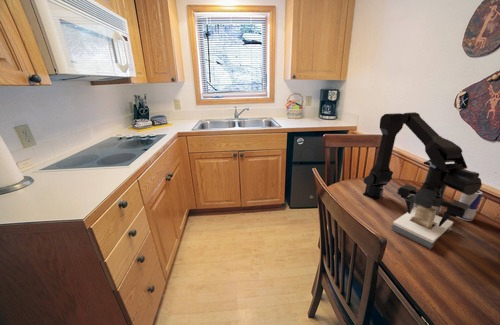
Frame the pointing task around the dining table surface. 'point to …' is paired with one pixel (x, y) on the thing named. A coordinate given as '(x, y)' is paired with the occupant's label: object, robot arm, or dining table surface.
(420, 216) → the wood peg
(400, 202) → the dining table surface
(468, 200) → the energy drink
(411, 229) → the hole board
